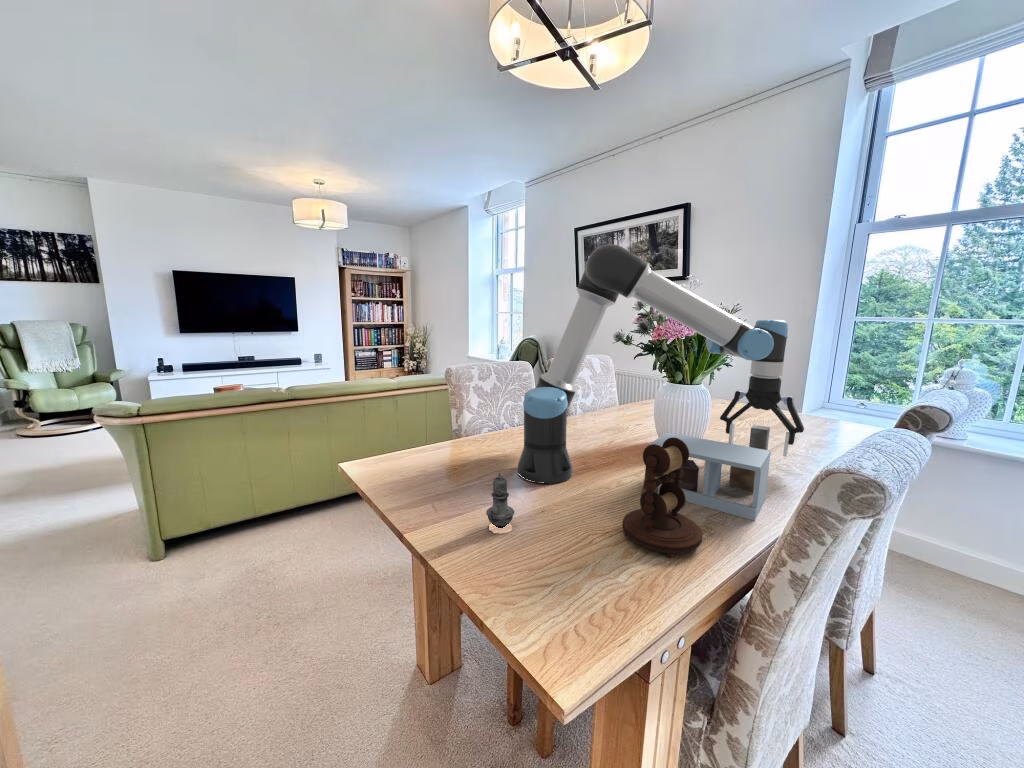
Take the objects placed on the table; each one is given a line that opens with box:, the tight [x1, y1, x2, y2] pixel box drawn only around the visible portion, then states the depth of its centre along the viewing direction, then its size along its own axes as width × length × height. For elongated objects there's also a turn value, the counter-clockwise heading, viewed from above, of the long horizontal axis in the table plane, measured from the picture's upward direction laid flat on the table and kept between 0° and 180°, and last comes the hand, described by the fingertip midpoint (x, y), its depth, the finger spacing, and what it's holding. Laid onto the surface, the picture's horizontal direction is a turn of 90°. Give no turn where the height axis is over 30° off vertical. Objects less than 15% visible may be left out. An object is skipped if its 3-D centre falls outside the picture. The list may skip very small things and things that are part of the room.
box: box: [668, 459, 700, 493], centre depth 101 cm, size 6×6×7 cm
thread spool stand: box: [622, 437, 703, 559], centre depth 79 cm, size 15×15×20 cm
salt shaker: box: [485, 473, 515, 528], centre depth 84 cm, size 6×6×12 cm
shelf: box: [647, 432, 772, 522], centre depth 99 cm, size 24×14×12 cm, turn 50°
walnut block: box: [728, 424, 771, 493], centre depth 109 cm, size 6×21×12 cm, turn 140°
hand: (756, 449), depth 116 cm, fingers open, 13 cm apart
